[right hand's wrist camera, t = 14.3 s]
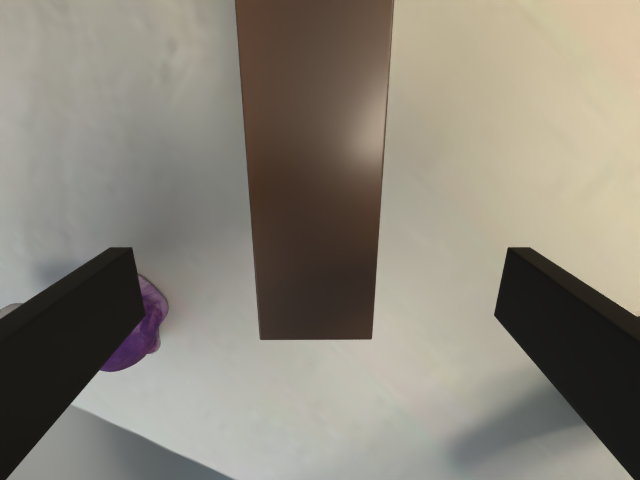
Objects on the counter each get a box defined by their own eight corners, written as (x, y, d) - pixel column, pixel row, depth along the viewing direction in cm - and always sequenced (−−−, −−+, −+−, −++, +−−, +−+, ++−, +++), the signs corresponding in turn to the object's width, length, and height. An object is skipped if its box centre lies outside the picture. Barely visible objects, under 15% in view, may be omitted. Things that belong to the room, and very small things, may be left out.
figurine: (73, 251, 35) (-86, 345, 21) (174, 271, 36) (84, 374, 22) (74, 327, 39) (-63, 451, 25) (167, 343, 40) (85, 473, 26)
